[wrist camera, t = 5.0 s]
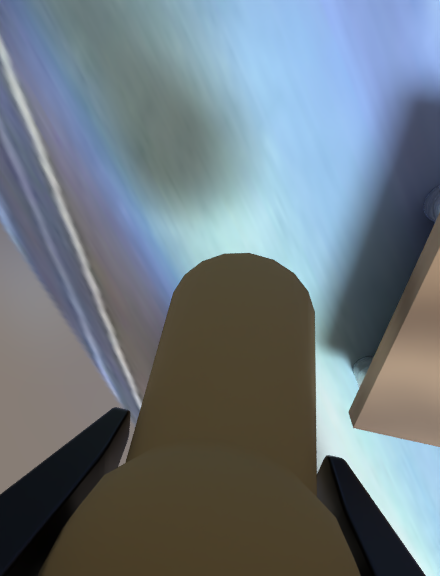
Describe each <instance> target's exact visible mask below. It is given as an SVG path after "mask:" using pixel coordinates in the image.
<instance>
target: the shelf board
mask: <svg viewBox="0 0 440 576" xmlns="http://www.w3.org/2000/svg"><path fill="white" fill-rule="evenodd" d="M349 415H350V419H351V422H352V425H353V428H356V429H361V430H365V431H370V432H374V433H379V434H383V435H388V436H392V437H397V438H401V439H406V440H411V441H415V442H420V443H424V444H429V445H433V446H438V447H440V213H439V215H438V217H437V220H436V222H435V224H434V226H433V228H432V230H431V233H430V235H429V237H428V239H427V241H426V244H425V246H424V248H423V250H422V252H421V255H420V257H419V259H418V261H417V263H416V266H415V268H414V270H413V272H412V274H411V276H410V279H409V281H408V283H407V285H406V287H405V290H404V292H403V294H402V296H401V298H400V301H399V303H398V305H397V307H396V309H395V311H394V314H393V316H392V318H391V320H390V322H389V325H388V327H387V329H386V331H385V333H384V336H383V338H382V340H381V342H380V344H379V346H378V349H377V351H376V353H375V355H374V357H373V360H372V362H371V364H370V366H369V368H368V371H367V373H366V375H365V377H364V379H363V382H362V384H361V386H360V388H359V390H358V392H357V395H356V397H355V399H354V401H353V403H352V406H351V408H350V410H349Z"/></svg>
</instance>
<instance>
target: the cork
mask: <svg viewBox="0 0 440 576" xmlns="http://www.w3.org/2000/svg"><path fill="white" fill-rule="evenodd" d="M38 576H361V575H360V573H359V570H358V567H357V565H356V562H355V560H354V557H353V555H352V553H351V551H350V548H349V546H348V544H347V542H346V539H345V537H344V535H343V533H342V530H341V528H340V526H339V523H338V521H337V519H336V517H335V516H334V515H333V514H332V513H331V512H330V511H329V510H328V509H327V507H326V506H325V505H324V504H323V503H322V502H321V501H320V500H319V499H318V498H317V462H316V374H315V311H314V308H313V305H312V302H311V299H310V296H309V292H308V291H307V289H306V288H305V287H304V285H303V284H302V283H301V282H300V280H299V279H298V278H297V277H296V275H295V274H294V273H293V272H291V271H290V270H288V269H287V268H285V267H284V266H282V265H281V264H279V263H278V262H276V261H275V260H272V259H269V258H265V257H262V256H258V255H254V254H251V253H234V254H222V255H219V256H217V257H214V258H211V259H208V260H205V261H202V262H201V263H200V264H198V265H197V266H196V267H194V268H193V269H192V270H190V271H189V272H188V273H187V274H185V275H184V277H183V278H182V280H181V281H180V283H179V285H178V286H177V288H176V289H175V291H174V292H173V296H172V299H171V303H170V306H169V310H168V313H167V317H166V320H165V324H164V328H163V331H162V335H161V338H160V342H159V345H158V349H157V352H156V356H155V360H154V363H153V367H152V370H151V374H150V377H149V381H148V384H147V388H146V392H145V395H144V399H143V402H142V406H141V409H140V413H139V416H138V420H137V424H136V427H135V431H134V434H133V438H132V441H131V445H130V449H129V452H128V456H127V459H126V463H125V464H123V465H121V466H119V467H118V468H116V469H114V470H113V471H111V472H109V473H107V474H106V475H104V476H103V477H102V478H101V480H100V481H99V482H98V483H97V485H96V486H95V487H94V488H93V489H92V491H91V492H90V493H89V494H88V496H87V497H86V498H85V499H84V500H83V502H82V503H81V504H80V505H79V507H78V508H77V509H76V511H75V512H74V513H73V515H72V516H71V517H70V519H69V520H68V521H67V523H66V524H65V525H64V527H63V528H62V530H61V532H60V533H59V535H58V537H57V539H56V541H55V543H54V545H53V546H52V548H51V550H50V552H49V554H48V556H47V558H46V559H45V561H44V563H43V565H42V567H41V569H40V570H39V573H38Z"/></svg>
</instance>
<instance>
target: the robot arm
mask: <svg viewBox="0 0 440 576" xmlns="http://www.w3.org/2000/svg"><path fill="white" fill-rule="evenodd" d="M129 428H130V411H129V410H126V409H122V408H117V407H115V408H112V409H111V410H110V411H108V412H107V413H106V414H105V415H103V416H102V417H101V418H99V419H98V420H97V421H95V422H94V423H93V424H92V425H90V426H89V427H88V428H86V429H85V430H84V431H82V432H81V433H80V434H78V435H77V436H76V437H75V438H73V439H72V440H71V441H69V442H68V443H67V444H65V445H64V446H63V447H62V448H60V449H59V450H58V451H56V452H55V453H54V454H52V455H51V456H50V457H49V458H47V459H46V460H45V461H43V462H42V463H41V464H39V465H38V466H37V467H35V468H34V469H33V470H32V471H30V472H29V473H28V474H27V475H25V476H24V477H22V478H21V479H20V480H19V481H17V482H16V483H15V484H13V485H12V486H11V487H9V488H8V489H7V490H5V491H4V492H3V493H2V494H0V576H38V573H39V570H40V569H41V567H42V565H43V563H44V561H45V559H46V558H47V556H48V554H49V552H50V550H51V548H52V546H53V545H54V543H55V541H56V539H57V537H58V535H59V533H60V532H61V530H62V528H63V527H64V525H65V524H66V523H67V521H68V520H69V519H70V517H71V516H72V515H73V513H74V512H75V511H76V509H77V508H78V507H79V505H80V504H81V503H82V502H83V500H84V499H85V498H86V497H87V496H88V494H89V493H90V492H91V491H92V489H93V488H94V487H95V486H96V485H97V483H98V482H99V481H100V480H101V478H102V477H103V476H104V475H106V474H107V473H109V472H111V471H113V470H114V469H116V468H118V465H119V463H120V459H121V457H122V454H123V452H124V449H125V446H126V444H127V440H128V437H129ZM317 498H318V499H319V500H320V501H321V502H322V503H323V504H324V505H325V506H326V507H327V509H328V510H329V511H330V512H331V513H332V514H333V515H334V516H335V517H336V519H337V521H338V523H339V526H340V528H341V530H342V533H343V535H344V537H345V539H346V542H347V544H348V546H349V548H350V551H351V553H352V555H353V557H354V560H355V562H356V565H357V567H358V570H359V573H360V575H361V576H426V575H425V574H424V573H423V571H422V570H421V568H420V567H419V565H418V564H417V563H416V561H415V560H414V558H413V557H412V555H411V554H410V553H409V551H408V550H407V548H406V547H405V545H404V544H403V543H402V541H401V540H400V538H399V537H398V535H397V534H396V533H395V531H394V530H393V528H392V527H391V525H390V524H389V523H388V521H387V520H386V518H385V517H384V515H383V514H382V513H381V511H380V510H379V508H378V507H377V505H376V504H375V502H374V501H373V500H372V498H371V497H370V495H369V494H368V492H367V491H366V490H365V488H364V487H363V485H362V484H361V482H360V481H359V480H358V478H357V477H356V475H355V474H354V472H353V471H352V470H351V468H350V467H349V465H348V464H347V462H346V461H345V460H344V459H342V458H339V457H335V456H330V455H327V456H326V457H325V458H324V460H323V462H322V465H321V467H320V469H319V471H318V474H317Z"/></svg>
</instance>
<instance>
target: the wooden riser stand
mask: <svg viewBox="0 0 440 576" xmlns="http://www.w3.org/2000/svg"><path fill="white" fill-rule="evenodd" d="M424 212H425V215H426V216H427V217H428V218H429V219H430V220H432V221H434V222H436V220H437V217H438V215H439V213H440V186H438V187H436V188H434V189H433V190H432V191H431V192H430V193H429V194H428V196H427V197H426V199H425V202H424ZM372 360H373V357H372V356H369V357H364V358H361V359H359V360H358V361H357V362H356V363H355V364H354V367H353V373H354V375H355V378H356V381H357V383H358V386H359V388H360V386H361V384H362V382H363V379H364V377H365V375H366V373H367V371H368V368H369V366H370V364H371V362H372Z"/></svg>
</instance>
